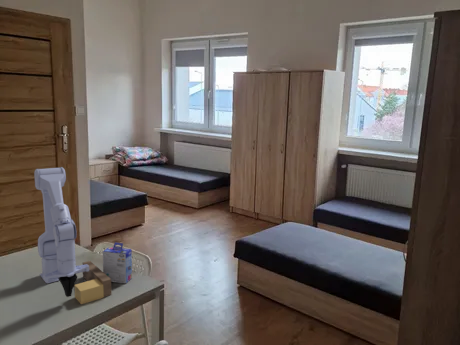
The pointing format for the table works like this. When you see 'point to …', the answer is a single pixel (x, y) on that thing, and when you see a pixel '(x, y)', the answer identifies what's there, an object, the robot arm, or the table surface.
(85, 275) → the walnut block
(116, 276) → the ink cartridge box
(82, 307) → the table surface
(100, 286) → the ochre block
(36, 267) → the table surface
